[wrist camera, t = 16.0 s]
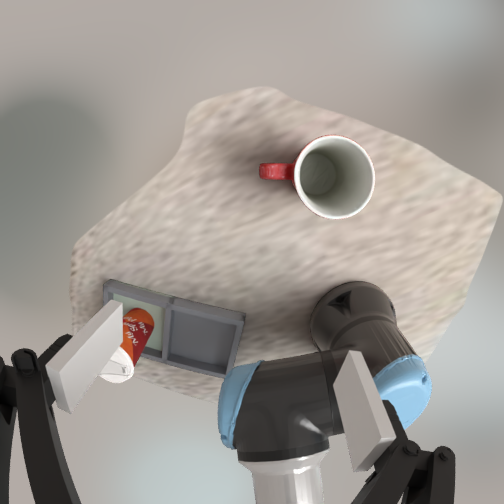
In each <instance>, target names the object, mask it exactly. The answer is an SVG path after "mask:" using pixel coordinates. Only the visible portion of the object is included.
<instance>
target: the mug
mask: <svg viewBox="0 0 504 504" xmlns="http://www.w3.org/2000/svg"><path fill="white" fill-rule="evenodd" d="M259 175H260V178H261V179H274V180H291V181H292V183H293V185H294V187H295V189H296V191H297V193H298V195H299V197H300V199H301V201H302V202H303V203H304V205H305V206H306V207H307V208H308V209H309V210H310V211H312V212H313V213H315V214H316V215H318V216H321V217H323V218H327V219H334V220H338V219H345V218H348V217H351V216H353V215H355V214H357V213H358V212H359V211H361V210H362V209H363V208H364V207H365V205H366V204H367V203H368V201H369V200H370V198H371V196H372V193H373V190H374V186H375V172H374V167H373V164H372V161H371V159H370V157H369V155H368V154H367V152H366V151H365V150H364V149H363V148H362V147H361V146H360V145H359V144H358V143H357V142H355V141H353V140H352V139H350V138H347V137H344V136H340V135H325V136H321V137H318V138H316V139H314V140H312V141H311V142H310V143H308V144H307V145H306V146H305V147H304V148H303V149H302V151H301V152H300V154H299V156H298V157H297V158H296V159H295V160H294V162H293V163H262V164H260V166H259Z"/></svg>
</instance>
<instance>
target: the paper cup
mask: <svg viewBox="0 0 504 504" xmlns="http://www.w3.org/2000/svg"><path fill="white" fill-rule="evenodd" d="M153 329H154V320H153V318H152V316H151V315H150V314H149V313H148V312H147V311H146V310H144V309H141V308H134V309H132V310H130V311H129V312H128V313H127V314H125V315H124V316H123V342H122V343H121V345H120V346H119V347H118V349H117V350H116V352H115V353H114V354H113V356H112V357H111V358H110V360H109V361H108V362H107V364H106V365H105V366H104V368H103V369H102V371H101V372H100V373H99V376H101V377H102V378H103V379H105V380H107V381H109V382H113V383H122V382H124V381H125V380H128V379H130V378H131V377H132V375H133V373H134V367H135V365H136V363H137V361H138V359H139V357H140V355H141V353H142V351H143V349H144V347H145V345H146V343H147V341H148V340H149V338H150V336H151V334H152V331H153Z"/></svg>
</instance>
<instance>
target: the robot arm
mask: <svg viewBox="0 0 504 504" xmlns="http://www.w3.org/2000/svg"><path fill="white" fill-rule="evenodd" d="M310 329H311V335H312V339H313V342H314V344H315V346H316V348H317V349H318V351H319V352H315V353H310V354H306V355H301V356H295V357H289V358H283V359H277V360H270V361H264V360H260V361H258V362H257V363H252V364H247V365H241V366H237V367H235V368H233V369H231V370H230V371H229V372H228V374H227V375H226V377H225V379H224V382H223V383H222V387H221V390H220V395H219V402H218V428H219V433H220V434H221V440H222V442H223V444H224V445H225V446H226V447H227V448H231V449H237V453H238V461H239V463H241V464H242V465H243V466H245V467H246V468H247V469H249V470H250V471H251V472H252V477H253V484H254V493H255V500H256V504H324V496H323V488H322V479H321V472H320V462H321V460H322V459H323V458H324V457H325V455H326V454H327V453H328V451H329V450H330V447H329V440H328V437H329V436H332V435H337V434H342V433H345V436H346V440H347V445H348V449H349V454H350V458H351V463H352V467H353V471H354V472H358V471H368V470H369V469H370V468H371V467H372V466H373V464H374V467H375V471H374V472H373V473H372V474H371V476H369V478H368V479H367V480H366V481H365V482H366V484H365V485H364V486H363V488H362V489H361V491H360V492H359V494H358V495H357V496H356V498H355V499H354V500H353V502H352V503H351V504H397V503H398V501H399V500H400V498H401V496H402V494H403V498H402V502H401V504H454V492H455V454H454V453H453V451H452V450H451V449H450V448H448V447H445V446H440V447H438V448H437V449H436V450H435V451H434V452H429V451H423V450H421V449H420V447H419V446H418V445H417V444H416V443H415V442H413V441H411V440H408V438H407V435H406V433H405V431H404V430H405V429H406V428H407V427H408V426H410V425H411V424H412V423H413V422H414V421H415V419H416V418H418V417H419V416H420V414H421V413H422V412H423V410H424V409H425V407H426V405H427V403H428V401H429V399H430V395H431V391H432V383H431V378H430V376H429V374H428V372H427V370H426V368H425V366H424V363H423V360H422V359H421V358H420V357H419V356H418V355H417V354H416V352H415V351H414V349H413V348H412V347H411V345H410V344H409V342H408V341H407V340H406V338H405V337H404V335H403V334H402V333H401V331H400V330H399V328H398V327H397V322H396V315H395V309H394V306H393V304H392V302H391V300H390V299H389V297H388V296H387V295H386V294H385V293H384V291H383V290H381V289H380V288H379V287H377V286H376V285H373V284H371V283H367V282H350V283H346V284H343V285H340V286H338V287H336V288H334V289H333V290H331V291H330V292H328V293H327V294H326V295H325V296H324V297H323V298H322V299H321V300H320V301H319V303H318V304H317V306H316V307H315V309H314V311H313V314H312V317H311V322H310ZM122 342H123V303H121V302H118V301H115V300H110V301H109V302H108V303H107V304H106V305H105V306H104V307H103V308H102V309H101V310H100V311H99V312H97V313H96V314H95V315H94V316H93V317H92V318H91V319H90V320H89V321H88V322H87V323H86V324H85V325H84V326H83V327H82V328H81V329H80V330H79V331H78V332H77V333H76V334H75V335H74V336H71V335H69V334H66V335H63V336H61V337H59V338H58V339H57V340H56V341H55V342H54V343H53V344H52V345H51V346H50V347H49V349H47V350H46V351H45V352H44V353H43V354H42V355H41V356H40V357H39V358H38V359H37V356H36V353H35V352H34V351H33V350H30V349H25V348H23V349H19V350H17V351H15V352H14V353H13V354H12V357H11V361H12V364H13V367H12V366H8V365H5V363H4V361H3V358H2V357H0V504H9V471H10V458H11V447H12V439H13V431H14V424H15V419H16V412H17V410H18V420H19V428H20V436H21V442H22V448H23V454H24V459H25V464H26V469H27V473H28V478H29V482H30V486H31V490H32V493H33V497H34V500H35V504H81V502H80V499H79V497H78V494H77V491H76V489H75V486H74V483H73V481H72V478H71V475H70V472H69V469H68V466H67V463H66V459H65V456H64V452H63V449H62V446H61V442H60V438H59V434H58V430H57V426H56V421H55V417H54V412H53V408H52V404H53V402H54V401H55V400H56V403H57V406H58V408H60V409H62V410H64V411H66V412H68V413H70V414H71V413H72V412H73V410H74V409H75V407H76V406H77V405H78V403H79V402H80V400H81V399H82V397H83V396H84V394H85V393H86V392H87V390H88V389H89V387H90V386H91V385H92V383H93V382H94V380H95V379H96V378H97V376H98V375H99V373H100V372H101V371H102V369H103V368H104V366H105V365H106V364H107V362H108V361H109V360H110V358H111V357H112V356H113V354H114V353H115V352H116V350H117V349H118V347H119V346H120V345H121V343H122ZM403 492H404V493H403Z"/></svg>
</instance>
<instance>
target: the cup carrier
mask: <svg viewBox="0 0 504 504" xmlns="http://www.w3.org/2000/svg"><path fill="white" fill-rule="evenodd" d="M110 300H115V301H118V302H121V303H123V316H124V315H125V314H127V313H128V312H129V311H130V310H132V309H134V308H141V309H144V310H146V311H147V312H148V313H149V314H150V315H151V316H152V318H153V320H154V329H153V331H152V334H151V336H150V338H149V340H148V341H147V343H146V345H145V347H144V349H143V351H142V353H141V355H140V356H141V357H144V358H148V359H151V360H154V361H158V362H161V363H164V364H168V365H171V366H175V367H179V368H182V369H186V370H190V371H194V372H198V373H202V374H206V375H211V376H215V377H219V378H224V379H225V377H226V375H227V374H228V372H229V371H230V370H231V369H233V366H234V362H235V358H236V354H237V350H238V346H239V342H240V338H241V334H242V329H243V325H244V321H245V313H241V312H236V311H232V310H227V309H223V308H219V307H214V306H210V305H206V304H202V303H198V302H194V301H190V300H186V299H182V298H178V297H174V296H170V295H166V294H162V293H159V292H155V291H151V290H147V289H144V288H140V287H137V286H133V285H130V284H126V283H123V282H119V281H116V280H112V279H110V280H109V281H107V282H106V283H105V284H104V285H103V307H104V306H105V305H106V304H107V303H108V302H109V301H110Z"/></svg>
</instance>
